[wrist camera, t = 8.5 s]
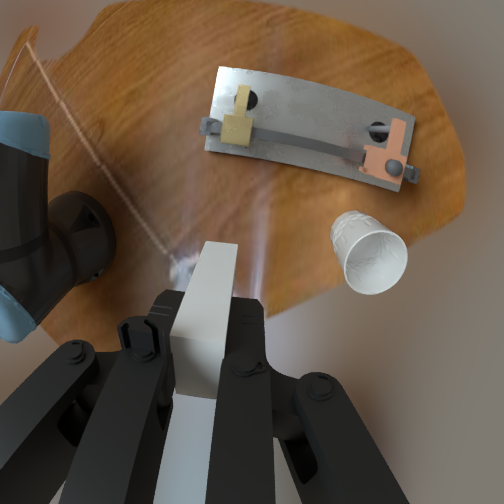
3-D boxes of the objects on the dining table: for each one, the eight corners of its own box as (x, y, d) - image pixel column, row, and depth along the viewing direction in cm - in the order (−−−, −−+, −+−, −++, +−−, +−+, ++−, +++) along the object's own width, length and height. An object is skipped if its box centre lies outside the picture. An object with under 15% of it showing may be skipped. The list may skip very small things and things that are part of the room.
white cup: (344, 195, 35) (370, 217, 26) (387, 222, 36) (419, 250, 27) (315, 243, 38) (330, 278, 29) (358, 266, 39) (381, 304, 30)
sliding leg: (351, 167, 32) (379, 179, 23) (361, 118, 29) (393, 114, 21) (372, 173, 32) (404, 187, 23) (382, 125, 29) (418, 125, 21)
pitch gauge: (206, 149, 33) (194, 152, 27) (221, 69, 29) (211, 55, 23) (394, 190, 34) (416, 201, 28) (410, 117, 30) (435, 116, 24)
